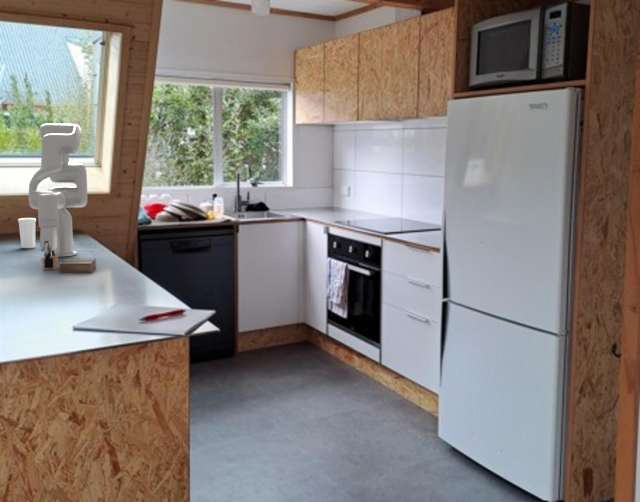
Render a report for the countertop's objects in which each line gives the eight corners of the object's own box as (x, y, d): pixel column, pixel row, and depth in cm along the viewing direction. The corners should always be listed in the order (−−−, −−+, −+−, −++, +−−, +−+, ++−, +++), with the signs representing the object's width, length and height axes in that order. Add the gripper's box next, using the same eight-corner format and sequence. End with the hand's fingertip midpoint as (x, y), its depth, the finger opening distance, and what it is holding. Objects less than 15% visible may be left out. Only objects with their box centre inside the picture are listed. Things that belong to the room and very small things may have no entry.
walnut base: (66, 267, 278) (65, 258, 278) (95, 267, 280) (95, 258, 280) (59, 273, 267) (59, 263, 266) (90, 273, 269) (90, 263, 268)
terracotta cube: (45, 267, 279) (45, 255, 278) (58, 267, 279) (57, 255, 278) (42, 269, 274) (42, 257, 273) (55, 269, 274) (55, 257, 274)
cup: (20, 246, 326) (18, 217, 323) (38, 246, 328) (36, 217, 326) (18, 249, 318) (16, 220, 316) (36, 249, 320) (35, 219, 318)
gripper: (44, 220, 281) (46, 262, 284) (33, 226, 264) (35, 270, 267) (62, 220, 282) (64, 262, 285) (53, 226, 266) (55, 270, 269)
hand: (50, 266), depth 276 cm, fingers closed on terracotta cube, 5 cm apart
